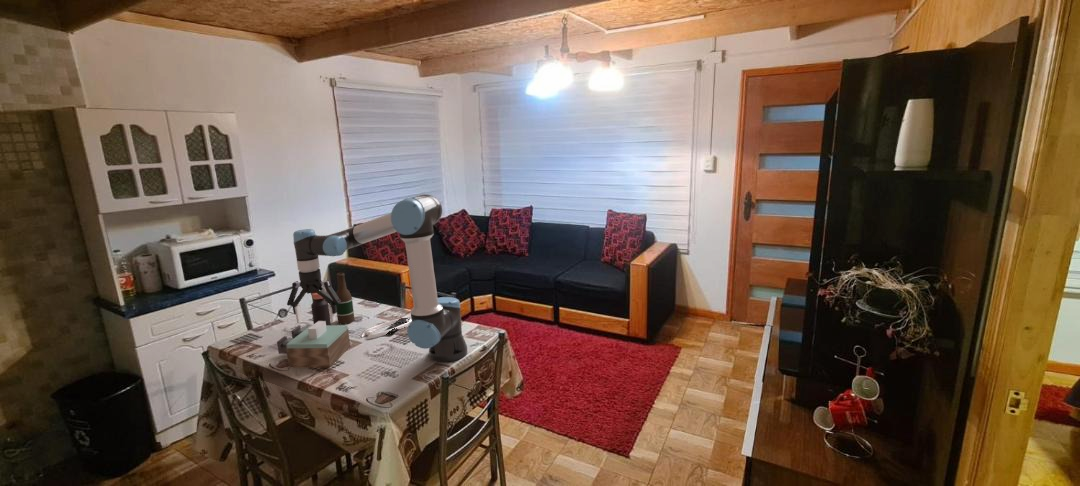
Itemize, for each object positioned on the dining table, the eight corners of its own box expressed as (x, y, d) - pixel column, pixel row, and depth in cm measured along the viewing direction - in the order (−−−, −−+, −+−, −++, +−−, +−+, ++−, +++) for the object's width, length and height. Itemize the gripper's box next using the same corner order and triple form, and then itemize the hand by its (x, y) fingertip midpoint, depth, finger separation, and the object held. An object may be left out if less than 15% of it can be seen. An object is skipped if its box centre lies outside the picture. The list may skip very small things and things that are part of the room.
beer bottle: (340, 319, 227) (334, 271, 222) (356, 318, 228) (351, 270, 223) (335, 325, 220) (329, 276, 214) (352, 324, 221) (346, 275, 215)
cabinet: (350, 346, 197) (347, 324, 194) (330, 367, 179) (326, 343, 177) (303, 346, 197) (299, 324, 195) (278, 367, 180) (274, 343, 178)
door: (347, 328, 195) (346, 316, 194) (327, 348, 177) (325, 334, 176) (304, 329, 196) (302, 316, 194) (279, 348, 178) (277, 334, 177)
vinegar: (322, 331, 213) (317, 289, 208) (335, 333, 211) (330, 290, 206) (312, 338, 206) (305, 294, 202) (324, 339, 204) (319, 295, 200)
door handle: (419, 324, 220) (370, 342, 202) (407, 319, 226) (358, 336, 208) (418, 318, 219) (369, 336, 201) (406, 314, 226) (357, 330, 207)
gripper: (345, 266, 183) (351, 317, 188) (283, 267, 184) (291, 318, 189) (336, 271, 176) (343, 324, 181) (271, 273, 177) (280, 325, 182)
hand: (316, 321), depth 185 cm, fingers open, 13 cm apart
